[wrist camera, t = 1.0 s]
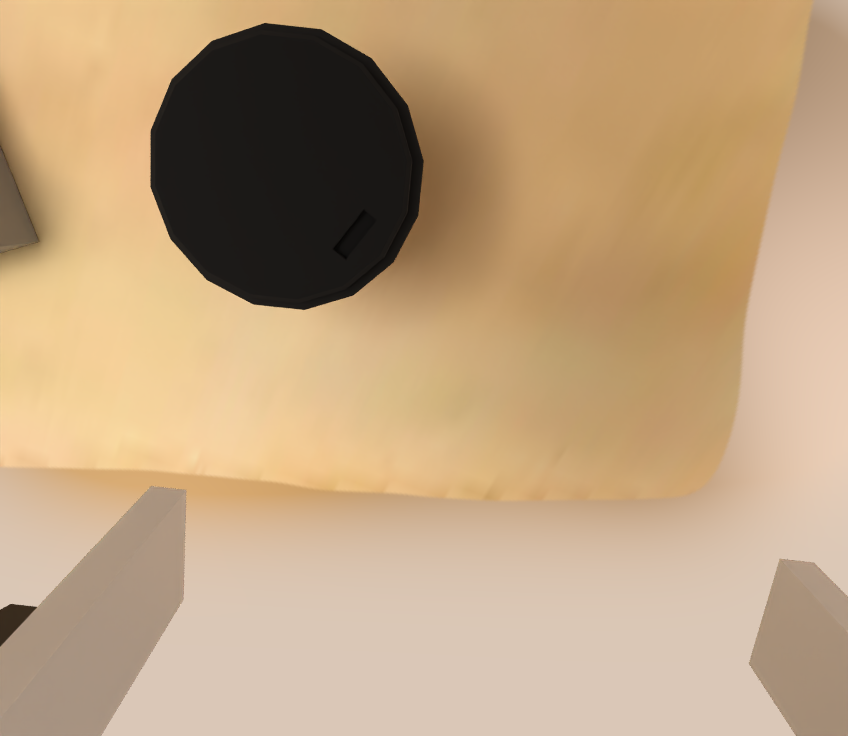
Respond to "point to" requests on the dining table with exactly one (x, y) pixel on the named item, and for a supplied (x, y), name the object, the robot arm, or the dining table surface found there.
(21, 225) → the console
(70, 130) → the dining table surface
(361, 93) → the coffee cup
